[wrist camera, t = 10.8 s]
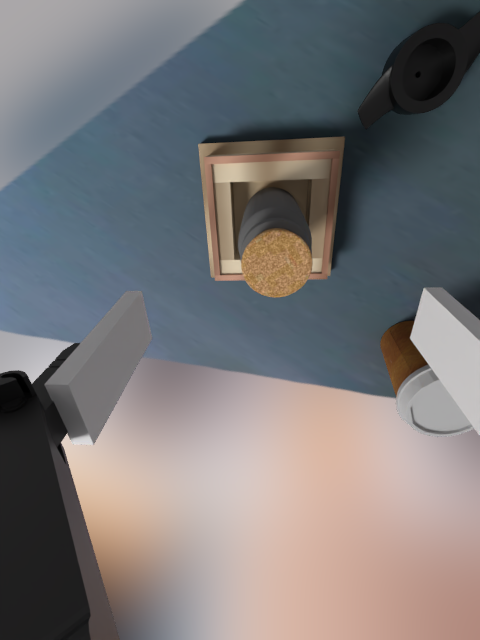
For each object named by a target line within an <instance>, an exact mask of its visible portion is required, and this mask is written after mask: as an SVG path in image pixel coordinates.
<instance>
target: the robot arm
mask: <svg viewBox="0 0 480 640" xmlns="http://www.w3.org/2000/svg"><path fill="white" fill-rule="evenodd" d="M410 339H411V341H412V342H413V343H414V345H415V346H416V348H417V349H418V350H419V352H420V353H421V355H422V356H423V357H424V359H425V360H426V362H427V363H428V364H429V366H430V367H431V369H432V370H433V371H434V373H435V374H436V376H437V377H438V378H439V380H440V381H441V383H442V384H443V385H444V387H445V388H446V389H447V391H448V392H449V394H450V395H451V396H452V398H453V399H454V401H455V402H456V403H457V405H458V406H459V408H460V409H461V410H462V412H463V413H464V415H465V416H466V417H467V419H468V420H469V422H470V423H471V424H472V426H473V427H474V429H475V430H476V431H477V433H478V434H479V435H480V320H479V319H478V318H477V317H475V316H474V315H473V314H472V313H471V312H470V311H469V310H467V309H466V308H465V307H464V306H463V305H462V304H460V303H459V302H458V301H457V300H456V299H455V298H453V297H452V296H451V295H450V294H449V293H448V292H446V291H445V290H444V289H443V288H442V287H439V288H424V289H423V293H422V297H421V300H420V304H419V307H418V311H417V315H416V318H415V322H414V325H413V329H412V333H411V336H410ZM151 340H152V335H151V331H150V326H149V322H148V317H147V313H146V308H145V304H144V299H143V295H142V291H126V292H125V293H124V294H123V296H122V297H121V298H120V299H119V300H118V301H117V302H116V304H115V305H114V306H113V307H112V308H111V309H110V310H109V312H108V313H107V314H106V315H105V316H104V317H103V318H102V319H101V321H100V322H99V323H98V324H97V325H96V326H95V327H94V329H93V330H92V331H91V332H90V333H89V334H88V335H87V337H86V338H85V339H84V340H83V341H82V342H81V343H74V344H73V345H71V346H70V347H68V348H67V349H65V350H63V351H62V352H61V353H60V355H59V356H58V357H57V358H56V359H55V361H53V362H52V363H51V364H50V366H49V368H47V369H46V370H45V371H44V372H43V373H42V374H41V375H40V376H39V377H38V378H37V379H36V380H35V381H34V383H33V384H31V382H30V380H29V378H28V376H27V374H26V373H25V372H23V371H8V372H5V373H1V374H0V640H120V639H119V635H118V632H117V629H116V625H115V622H114V618H113V615H112V611H111V608H110V605H109V601H108V598H107V594H106V591H105V587H104V584H103V581H102V577H101V574H100V570H99V567H98V563H97V560H96V557H95V553H94V550H93V546H92V543H91V540H90V536H89V533H88V530H87V526H86V522H85V519H84V516H83V512H82V509H81V505H80V502H79V499H78V495H77V492H76V488H75V485H74V482H73V478H72V475H71V471H70V468H69V464H68V461H67V457H66V454H65V451H64V448H63V446H62V444H61V441H62V440H63V438H64V437H65V435H66V434H67V433H68V436H69V438H70V440H71V442H72V444H81V445H82V444H84V445H94V443H95V442H96V440H97V438H98V436H99V434H100V432H101V431H102V429H103V427H104V425H105V423H106V422H107V420H108V418H109V416H110V414H111V412H112V411H113V409H114V407H115V405H116V403H117V401H118V400H119V398H120V396H121V394H122V392H123V391H124V389H125V387H126V385H127V383H128V381H129V380H130V378H131V376H132V374H133V372H134V370H135V369H136V367H137V365H138V363H139V361H140V359H141V358H142V356H143V354H144V352H145V351H146V349H147V347H148V345H149V343H150V341H151Z"/></svg>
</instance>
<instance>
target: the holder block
mask: <svg viewBox="0 0 480 640" xmlns="http://www.w3.org/2000/svg"><path fill="white" fill-rule="evenodd" d="M344 142H345V137H326V138H306V139H285V140H265V141H245V142H225V143H204V144H198V146H199V157H200V167H201V177H202V188H203V198H204V208H205V219H206V229H207V239H208V249H209V260H210V270H211V277H215V281H223V280H245V279H244V276H243V274H242V269H241V260H240V255H239V250H238V238H239V232H240V228H241V224H242V219H243V216H244V212H245V208H246V206H247V204H248V202H249V200H250V199H251V197H252V196H253V195H254V194H255V193H257V192H258V191H260V190H262V189H264V188H269V187H276V188H281V189H284V190H285V191H287V192H289V193H290V194H291V195H292V196H293V197H294V199H295V200H296V202H297V204H298V206H299V208H300V209H301V211H302V213H303V215H304V217H305V220H306V222H307V224H308V226H309V229H310V232H311V237H312V247H311V248H312V259H313V265H312V271H311V274H310V276H309V278H308V279H327V276H330V271H331V262H332V253H333V243H334V234H335V225H336V216H337V207H338V197H339V188H340V179H341V170H342V161H343V151H344Z"/></svg>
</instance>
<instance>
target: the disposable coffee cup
mask: <svg viewBox="0 0 480 640" xmlns="http://www.w3.org/2000/svg"><path fill="white" fill-rule="evenodd" d="M414 322H415V321H404V322H400V323H398V324H395V325H394V326H392V327H390V328H389V329H388V330H387V331H386V332H385V333H384V335H383V336H382V339H381V344H380V346H381V350H382V353H383V356H384V359H385V362H386V365H387V369H388V372H389V375H390V378H391V382H392V384H393V388H394V391H395V394H396V407H397V411H398V414H399V416H400V417H401V418H402V419H403V420H404V421H405V422H406V423H407V424H409V425H410V426H411V427H412V428H413V429H415V430H417V431H418V432H420V433H422V434H426V435H429V436H436V437H442V436H454V435H458V434H462V433H465V432H468V431H470V430H472V429H474V427H473V426H472V424H471V423H470V422H469V420H468V419H467V417H466V416H465V415H464V413H463V412H462V410H461V409H460V408H459V406H458V405H457V403H456V402H455V401H454V399H453V398H452V396H451V395H450V394H449V392H448V391H447V389H446V388H445V387H444V385H443V384H442V383H441V381H440V380H439V378H438V377H437V376H436V374H435V373H434V371H433V370H432V369H431V367H430V366H429V364H428V363H427V362H426V360H425V359H424V357H423V356H422V355H421V353H420V352H419V350H418V349H417V348H416V346H415V345H414V343H413V342H412V341H411V339H410V336H411V333H412V329H413V325H414Z"/></svg>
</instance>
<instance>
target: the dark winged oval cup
mask: <svg viewBox="0 0 480 640" xmlns="http://www.w3.org/2000/svg"><path fill="white" fill-rule="evenodd" d="M479 53H480V12H479V13H478V14H476V15H475V16H474V17H473V18H472V19H471V20H470V21H469V22H467V23H466V24H465V25H464V26H462V27H461V28H460V29H457V28H456V27H454V26H452V25H450V24H446V23H435V24H431V25H428V26H426V27H424V28H422V29H420V30H419V31H417V32H416V33H414V34H413V35H411V36H410V37H408V38H407V39H405V40H404V41H402V42H401V43H400V44H399V45H398V46H397V47H396V48H395V49H394V50H393V52H392V53H391V55H390V56H389V58H388V60H387V62H386V64H385V66H384V69H383V72H382V76H381V77H380V79H379V80H378V81H377V82H376V84H375V85H374V87H373V88H372V89H371V91H370V92H369V94H368V95H367V97H366V98H365V100H364V101H363V103H362V104H361V106H360V107H359V109H358V114H359V117H360V120H361V122H362V124H363V126H364V127H365V129H367V128H368V127H369V126H370V125H372V124H373V123H374V122H375V121H376V120H378V119H379V118H380V117H382V116H383V115H384V114H386V113H387V112H389V111H390V110H392V111H394V112H396V113H398V114H403V115H410V114H418V113H425V112H428V111H431V110H434V109H436V108H437V107H439V106H440V105H442V104H443V103H444V102H446V101H447V100H448V99H449V98H450V97H451V96H452V94H453V93H454V92H455V91H456V89H457V88H458V86H459V84H460V82H461V80H462V78H463V76H464V74H465V73H466V72H467V70H468V69H469V68H470V66H471V65H472V63H473V62H474V60H475V59H476V57H477V56H478V54H479ZM416 73H417V74H418V76H417V78H416V77H415V74H416Z"/></svg>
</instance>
